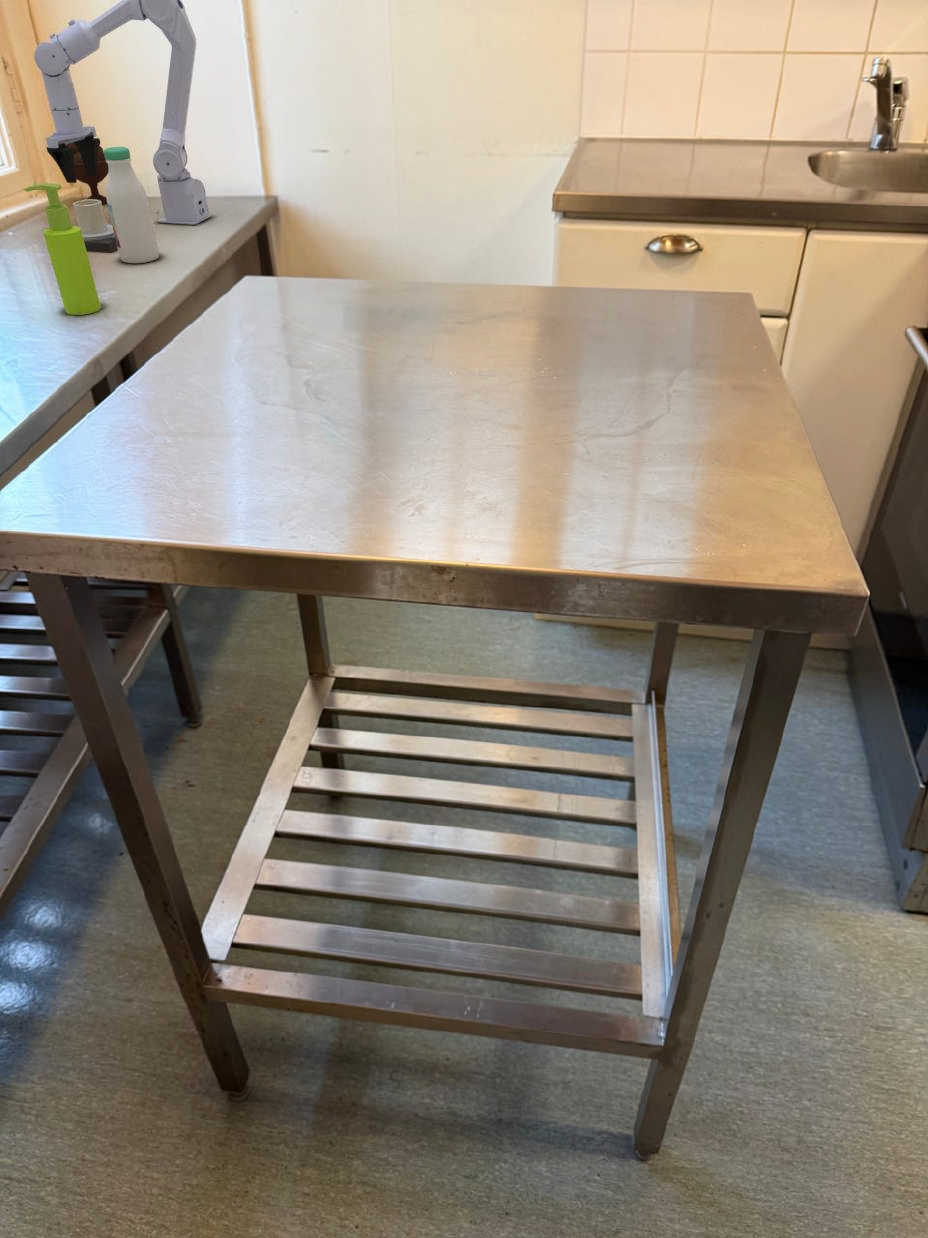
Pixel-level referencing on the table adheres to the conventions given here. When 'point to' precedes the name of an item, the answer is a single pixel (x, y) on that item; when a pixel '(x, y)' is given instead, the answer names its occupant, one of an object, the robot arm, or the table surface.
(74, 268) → the soap dispenser
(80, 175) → the ice cream bowl
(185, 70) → the robot arm
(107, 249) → the scale
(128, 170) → the milk bottle
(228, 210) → the table surface
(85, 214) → the light grey cup
